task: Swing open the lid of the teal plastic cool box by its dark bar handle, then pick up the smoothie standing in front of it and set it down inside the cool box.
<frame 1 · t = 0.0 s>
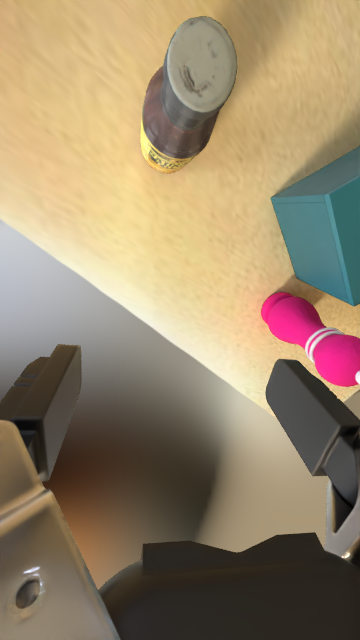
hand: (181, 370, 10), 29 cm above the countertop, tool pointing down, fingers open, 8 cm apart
sauce bottle: (166, 146, 32), on the countertop
cool box: (335, 213, 37), on the countertop
pepper mill: (277, 308, 43), on the countertop
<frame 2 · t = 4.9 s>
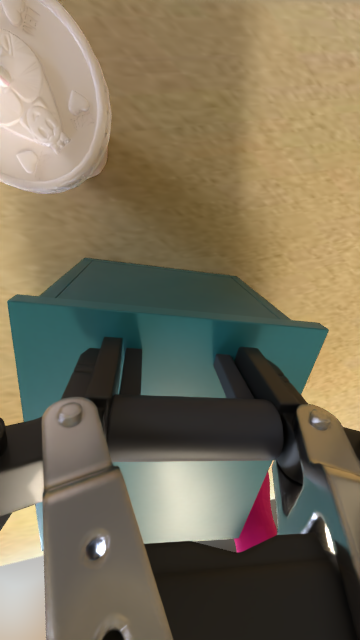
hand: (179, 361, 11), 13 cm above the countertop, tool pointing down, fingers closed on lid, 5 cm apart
cool box: (154, 347, 25), on the countertop
pepper mill: (223, 437, 32), on the countertop
lid: (163, 497, 12), point 15 cm above the countertop, hinge at -0.1°, touching gripper
smoothie: (81, 149, 18), on the countertop
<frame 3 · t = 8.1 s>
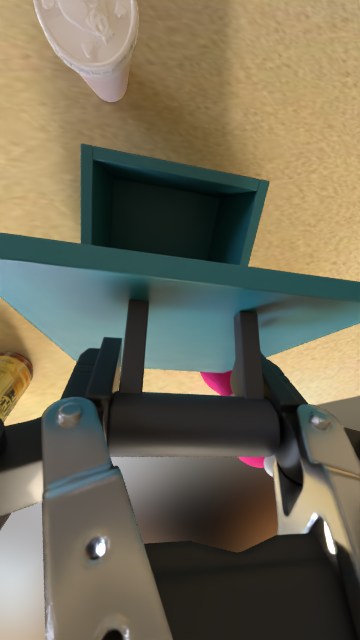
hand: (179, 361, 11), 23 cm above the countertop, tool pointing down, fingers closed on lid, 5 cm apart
sauce bottle: (13, 366, 36), on the countertop
cool box: (160, 254, 31), on the countertop
pepper mill: (217, 348, 38), on the countertop
lid: (166, 382, 15), point 20 cm above the countertop, hinge at 47.1°, touching gripper
smoothie: (108, 79, 24), on the countertop
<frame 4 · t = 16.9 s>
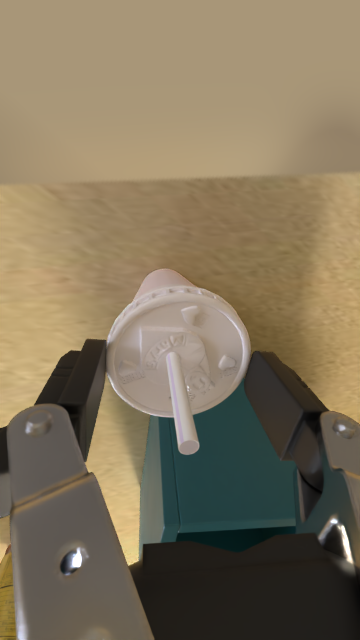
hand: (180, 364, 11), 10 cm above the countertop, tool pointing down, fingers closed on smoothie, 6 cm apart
sauce bottle: (36, 542, 31), on the countertop
cool box: (210, 439, 27), on the countertop
smoothie: (164, 291, 19), on the countertop, touching gripper
when the fingers open (11 cm above the countertop, at t = 25.9 s): smoothie stays where it is, resting on cool box.
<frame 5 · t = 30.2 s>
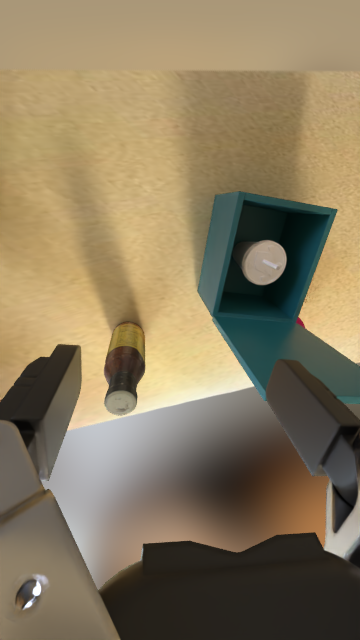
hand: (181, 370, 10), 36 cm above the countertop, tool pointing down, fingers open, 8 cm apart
sauce bottle: (129, 333, 49), on the countertop
cool box: (241, 251, 45), on the countertop
lid: (280, 367, 30), point 21 cm above the countertop, hinge at 87.5°
smoothie: (242, 252, 44), point 1 cm above the countertop, touching cool box
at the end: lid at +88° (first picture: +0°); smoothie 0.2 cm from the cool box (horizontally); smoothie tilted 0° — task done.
